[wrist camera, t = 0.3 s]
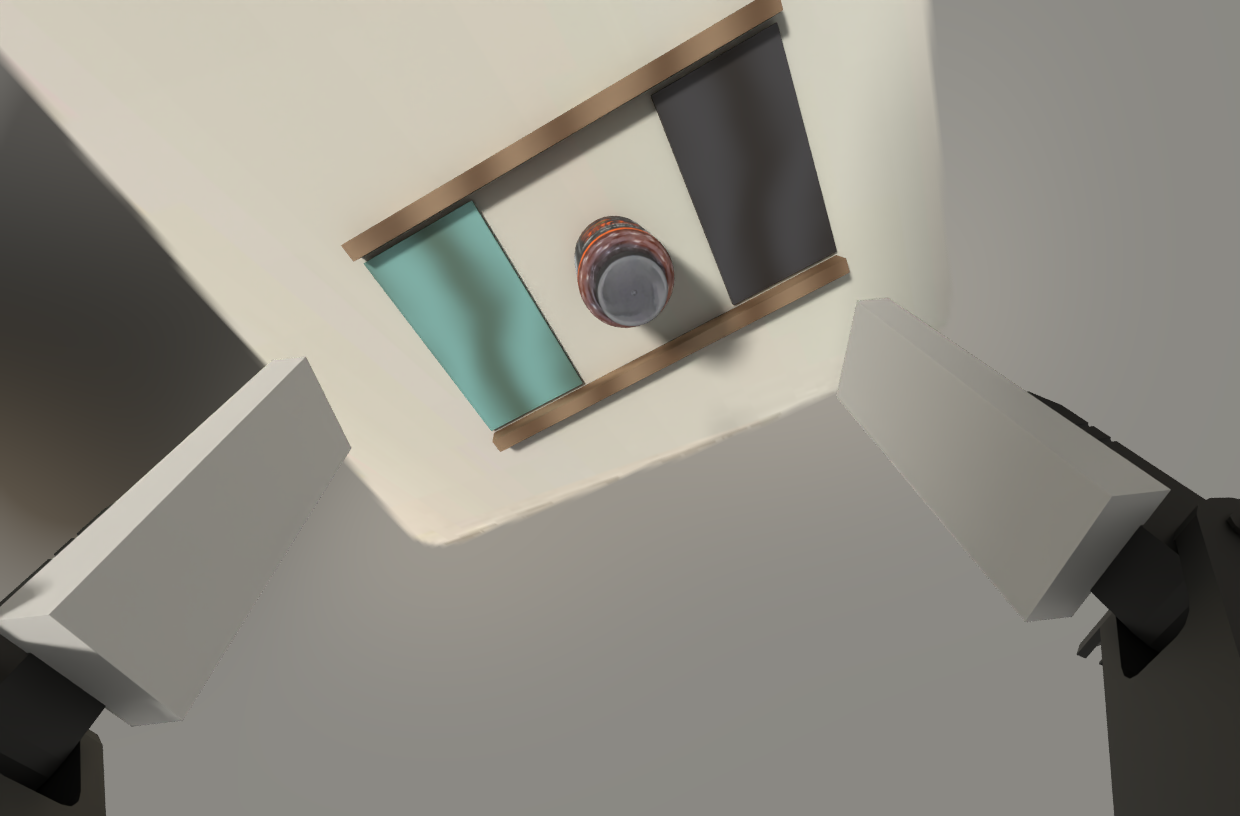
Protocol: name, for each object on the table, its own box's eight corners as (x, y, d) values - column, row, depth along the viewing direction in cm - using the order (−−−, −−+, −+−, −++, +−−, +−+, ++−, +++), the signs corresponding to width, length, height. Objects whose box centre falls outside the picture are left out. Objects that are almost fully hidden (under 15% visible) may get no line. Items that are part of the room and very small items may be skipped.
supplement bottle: (631, 199, 35) (663, 214, 25) (663, 273, 38) (703, 314, 28) (558, 237, 35) (561, 268, 25) (595, 308, 38) (610, 360, 28)
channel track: (502, 442, 43) (500, 451, 41) (349, 242, 34) (341, 245, 32) (839, 268, 39) (849, 272, 38) (767, -6, 30) (777, -13, 29)
